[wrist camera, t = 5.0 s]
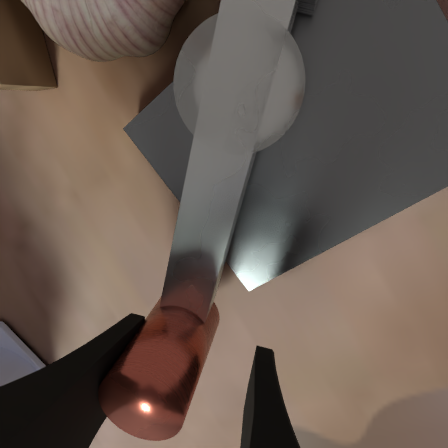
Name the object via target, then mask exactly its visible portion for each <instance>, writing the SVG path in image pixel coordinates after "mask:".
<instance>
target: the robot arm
mask: <svg viewBox="0 0 448 448" xmlns="http://www.w3.org/2000/svg"><path fill="white" fill-rule="evenodd" d="M144 321H145V317H144V316H140V315H137V314H133V313H131V314H129V315H128V316H126V317H125V318H123V319H122V320H121V321H119V322H118V323H116V324H115V325H113V326H112V327H110V328H109V329H107V330H106V331H105V332H103V333H102V334H100V335H98V336H97V337H95V338H94V339H92V340H91V341H89V342H88V343H86V344H85V345H83V346H81V347H80V348H78V349H76V350H75V351H73V352H71V353H70V354H68V355H66V356H64V357H63V358H61V359H59V360H57V361H55V362H53V363H52V364H50V365H48V366H46V365H45V364H44V363H43V362H42V361H41V360H40V359H39V358H38V357H37V356H36V355H35V354H34V353H33V352H32V351H31V350H30V349H29V348H28V347H27V346H26V345H25V344H24V343H23V342H22V341H21V340H20V339H19V338H18V337H17V336H16V334H15V333H14V332H13V331H12V330H11V329H10V328H9V327H8V326H7V325H6V324H5V323H4V322H2V321H0V448H89V446H90V444H91V442H92V440H93V439H94V437H95V435H96V433H97V432H98V430H99V428H100V427H101V425H102V423H103V422H104V420H105V419H106V417H107V416H106V414H105V413H104V411H103V410H102V408H101V406H100V403H99V399H98V389H99V386H100V384H101V382H102V381H103V380H104V378H105V377H106V375H107V374H108V372H109V371H110V369H111V368H112V367H113V365H114V364H115V362H116V361H117V359H118V358H119V357H120V355H121V354H122V352H123V351H124V349H125V348H126V347H127V345H128V344H129V342H130V341H131V339H132V338H133V337H134V335H135V334H136V332H137V331H138V329H139V328H140V326H141V325H142V324H143V322H144ZM240 448H300V446H299V443H298V441H297V438H296V436H295V433H294V430H293V428H292V425H291V422H290V419H289V416H288V413H287V410H286V407H285V404H284V400H283V396H282V393H281V389H280V385H279V381H278V376H277V372H276V366H275V358H274V352H273V350H272V349H268V348H264V347H260V346H257V347H256V351H255V356H254V360H253V365H252V370H251V374H250V379H249V383H248V389H247V394H246V400H245V405H244V413H243V424H242V436H241V447H240Z"/></svg>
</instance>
